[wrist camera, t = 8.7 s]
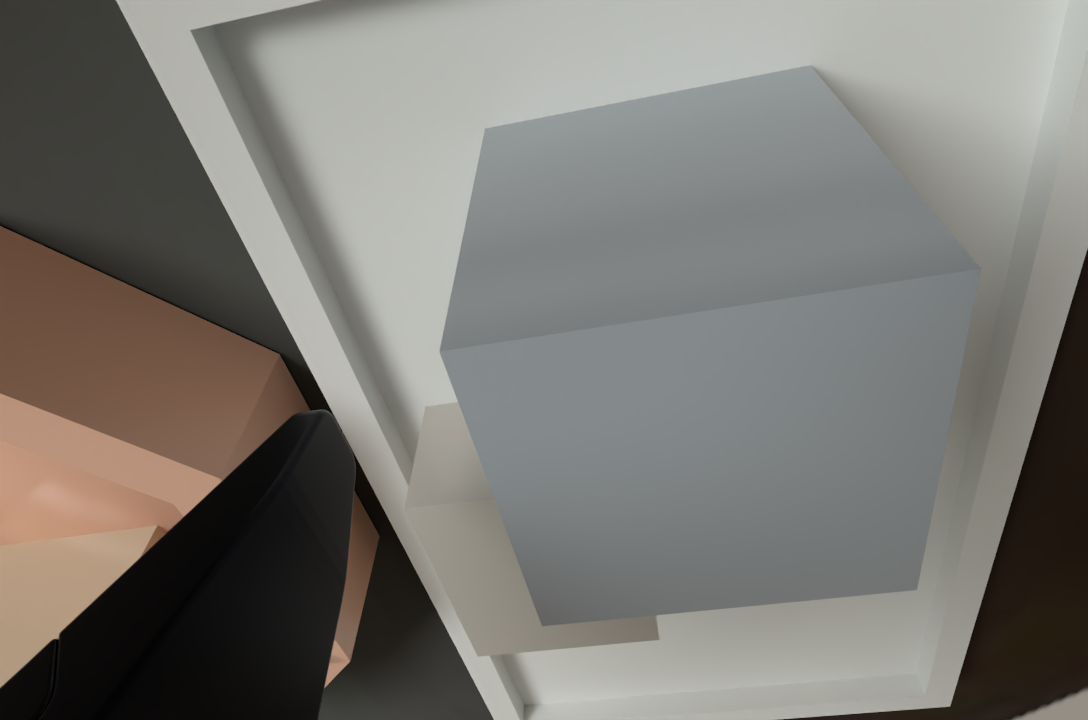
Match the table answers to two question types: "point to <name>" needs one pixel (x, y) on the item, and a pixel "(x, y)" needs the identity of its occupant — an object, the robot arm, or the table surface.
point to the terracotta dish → (131, 411)
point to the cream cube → (58, 586)
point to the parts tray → (606, 78)
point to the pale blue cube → (706, 351)
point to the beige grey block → (486, 550)
